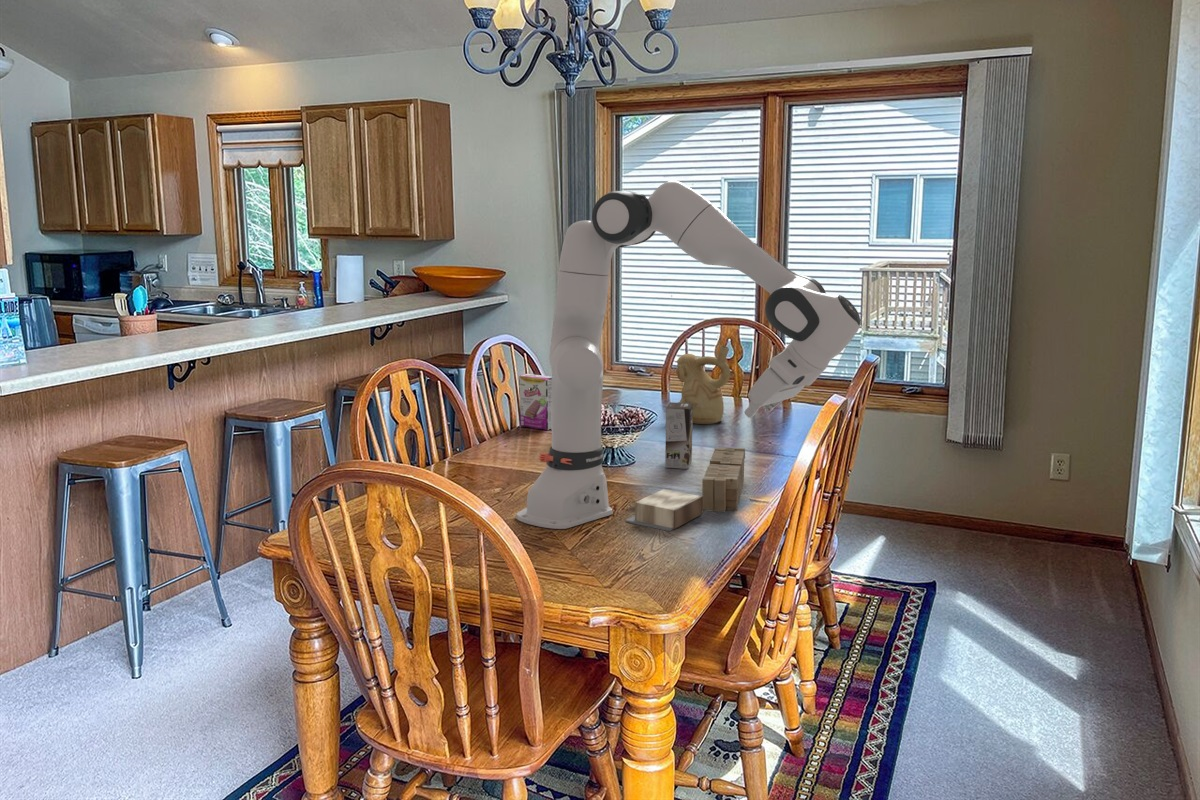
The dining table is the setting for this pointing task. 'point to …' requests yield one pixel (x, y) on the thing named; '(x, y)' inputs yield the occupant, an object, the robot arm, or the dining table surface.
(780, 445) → the dining table surface
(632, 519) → the mat
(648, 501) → the maple block
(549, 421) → the candy bar box
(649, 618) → the dining table surface
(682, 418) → the coffee box
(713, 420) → the ceramic vessel
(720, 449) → the block tower
